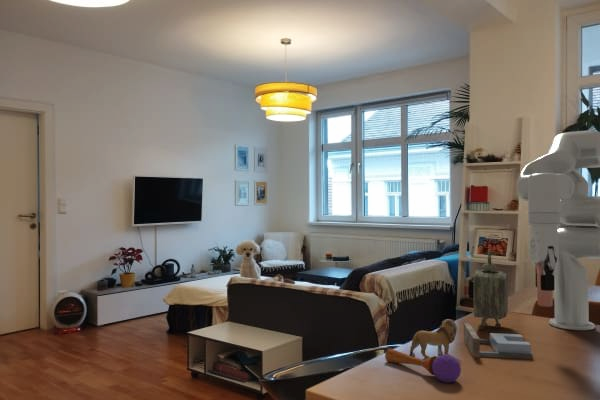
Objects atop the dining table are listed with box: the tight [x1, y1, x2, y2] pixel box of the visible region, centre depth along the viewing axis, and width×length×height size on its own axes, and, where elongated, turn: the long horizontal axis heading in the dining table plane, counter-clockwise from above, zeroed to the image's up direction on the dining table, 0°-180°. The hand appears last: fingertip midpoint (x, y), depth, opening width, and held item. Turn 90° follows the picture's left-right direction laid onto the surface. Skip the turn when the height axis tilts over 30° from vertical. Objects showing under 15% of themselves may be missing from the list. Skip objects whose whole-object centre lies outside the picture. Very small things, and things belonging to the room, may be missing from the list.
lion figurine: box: [408, 318, 458, 360], centre depth 122 cm, size 15×5×9 cm, turn 112°
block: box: [489, 332, 532, 354], centre depth 126 cm, size 10×8×3 cm
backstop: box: [463, 322, 534, 360], centre depth 127 cm, size 16×14×5 cm
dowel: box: [536, 260, 554, 308], centre depth 125 cm, size 4×4×12 cm
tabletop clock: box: [472, 248, 509, 331], centre depth 150 cm, size 14×9×25 cm, turn 153°
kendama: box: [384, 348, 462, 384], centre depth 110 cm, size 6×6×20 cm
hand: (544, 288), depth 125 cm, fingers closed on dowel, 3 cm apart
